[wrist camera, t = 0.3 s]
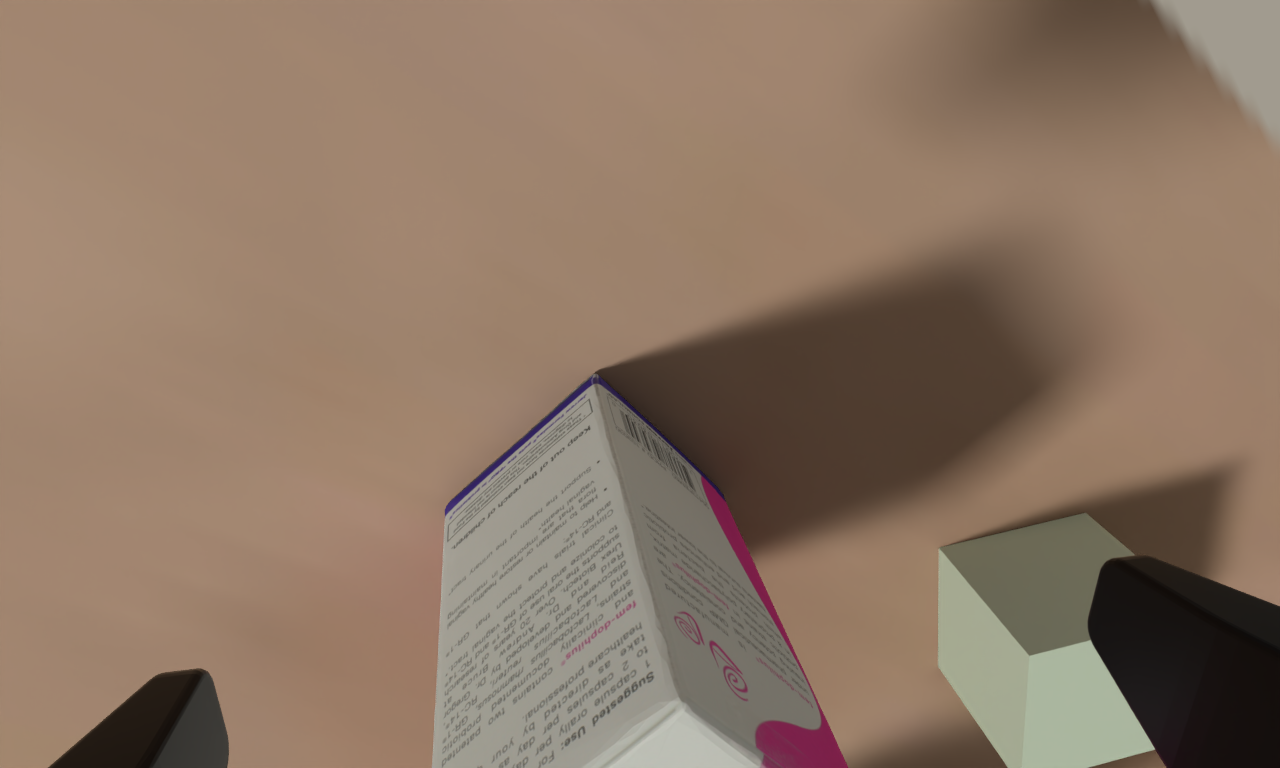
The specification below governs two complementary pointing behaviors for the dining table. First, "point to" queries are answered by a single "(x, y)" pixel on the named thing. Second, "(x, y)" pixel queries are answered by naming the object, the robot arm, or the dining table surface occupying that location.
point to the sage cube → (1034, 645)
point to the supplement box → (611, 612)
